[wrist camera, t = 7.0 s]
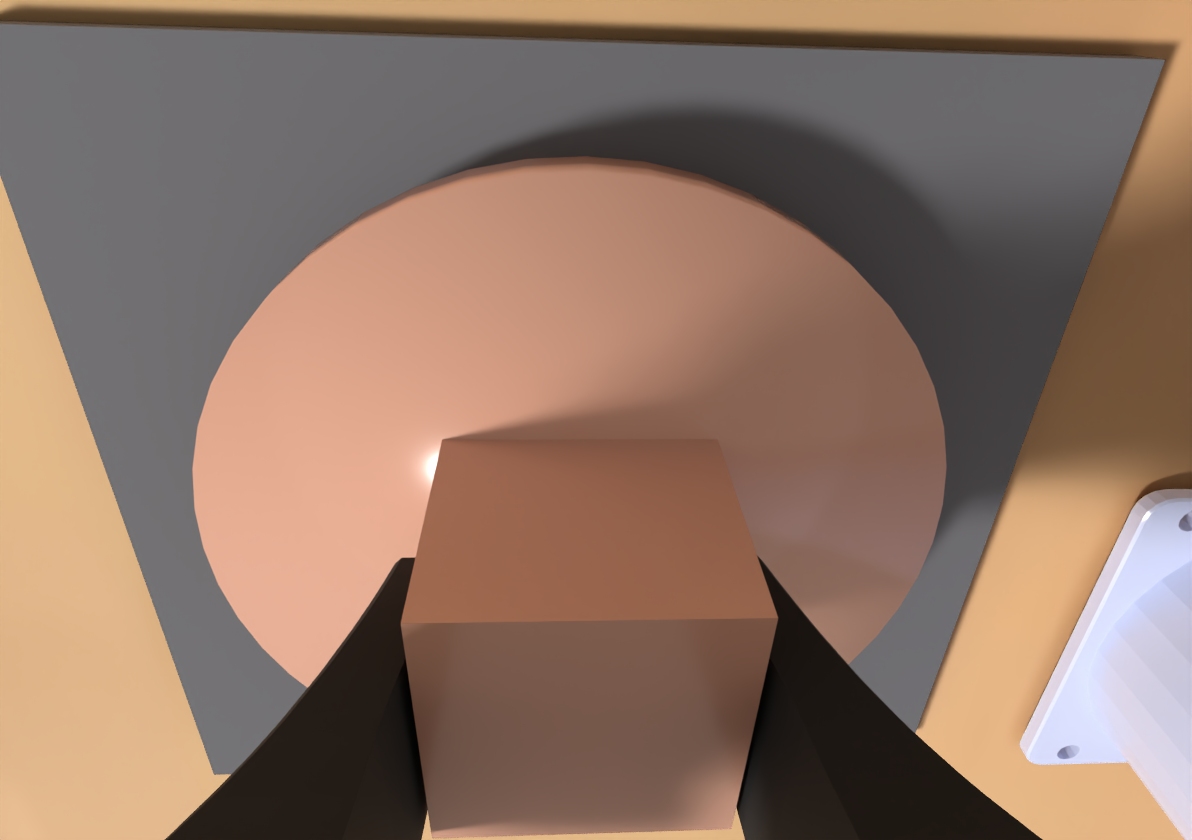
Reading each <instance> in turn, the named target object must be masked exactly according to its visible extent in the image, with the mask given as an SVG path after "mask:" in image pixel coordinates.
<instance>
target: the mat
mask: <svg viewBox="0 0 1192 840" xmlns="http://www.w3.org/2000/svg"><path fill="white" fill-rule="evenodd" d="M1164 62H1165V60H1164V59H1157V58H1149V57H1142V56H1127V55H1094V54H1062V53H1029V52H997V51H964V50H932V49H899V48H867V47H834V46H802V45H769V44H737V43H704V42H672V41H640V40H607V39H575V38H542V37H510V36H477V35H445V34H412V33H380V32H347V31H315V30H282V29H250V28H217V27H185V26H153V25H120V24H88V23H55V22H23V21H0V176H1V178H2V181H3V184H4V187H5V190H6V192H7V195H8V198H9V201H10V204H11V206H12V209H13V212H14V215H15V218H16V220H17V223H18V226H19V229H20V232H21V234H22V237H23V240H24V243H25V246H26V248H27V251H28V254H29V257H30V260H31V263H32V265H33V268H34V271H35V274H36V277H37V279H38V282H39V285H40V288H41V291H42V293H43V296H44V299H45V302H46V305H47V307H48V310H49V313H50V316H51V319H52V321H53V324H54V327H55V330H56V333H57V335H58V338H59V341H60V344H61V347H62V349H63V352H64V355H65V358H66V361H67V363H68V366H69V369H70V372H71V375H72V377H73V380H74V383H75V386H76V389H77V391H78V394H79V397H80V400H81V403H82V405H83V408H84V411H85V414H86V417H87V420H88V422H89V425H90V428H91V431H92V434H93V436H94V439H95V442H96V445H97V448H98V450H99V453H100V456H101V459H102V462H103V464H104V467H105V470H106V473H107V476H108V478H109V481H110V484H111V487H112V490H113V492H114V495H115V498H116V501H117V504H118V506H119V509H120V512H121V515H122V518H123V520H124V523H125V526H126V529H127V532H128V534H129V537H130V540H131V543H132V546H133V548H134V551H135V554H136V557H137V560H138V563H139V565H140V568H141V571H142V574H143V577H144V579H145V582H146V585H147V588H148V591H149V593H150V596H151V599H152V602H153V605H154V607H155V610H156V613H157V616H158V619H159V621H160V624H161V627H162V630H163V633H164V635H165V638H166V641H167V644H168V647H169V649H170V652H171V655H172V658H173V661H174V663H175V666H176V669H177V672H178V675H179V677H180V680H181V683H182V686H183V689H184V691H185V694H186V697H187V700H188V703H189V705H190V708H191V711H192V714H193V717H194V720H195V722H196V725H197V728H198V731H199V734H200V736H201V739H202V742H203V745H204V748H205V750H206V753H207V756H208V759H209V762H210V764H211V767H212V770H213V773H214V775H216V774H232V773H233V772H234V771H235V770H236V769H237V768H238V767H239V766H240V765H241V764H242V763H243V762H244V761H245V760H246V759H247V758H248V757H249V756H250V754H251V753H252V752H253V751H254V750H255V749H256V748H257V747H258V746H259V745H260V744H261V742H262V741H263V740H264V739H265V738H266V737H267V736H268V734H269V733H270V732H271V731H272V730H273V729H274V728H275V727H276V725H277V724H278V723H279V722H280V721H281V720H282V718H283V717H284V716H285V715H286V714H287V712H288V711H289V710H290V709H291V707H292V706H293V705H294V704H295V703H296V701H297V700H298V699H299V698H300V697H301V695H302V694H303V693H304V692H305V690H306V689H307V687H306V686H304V685H303V684H302V683H301V682H299V681H298V680H297V679H295V678H294V677H293V676H291V675H290V674H289V673H288V672H287V671H286V670H285V669H284V668H283V667H282V666H281V665H279V664H278V663H277V662H276V661H275V660H274V659H273V658H272V657H271V656H270V655H269V654H268V653H267V652H266V651H265V650H264V649H263V648H262V647H261V646H260V645H259V643H258V642H257V641H256V640H255V638H254V637H253V636H252V635H251V633H250V632H249V631H248V630H247V628H246V627H245V626H244V624H243V623H242V622H241V621H240V619H239V618H238V617H237V615H236V614H235V612H234V610H233V608H232V607H231V605H230V603H229V602H228V600H227V598H226V597H225V595H224V593H223V592H222V590H221V588H220V587H219V585H218V583H217V580H216V578H215V575H214V573H213V570H212V568H211V566H210V563H209V561H208V558H207V556H206V553H205V551H204V548H203V544H202V540H201V535H200V531H199V527H198V522H197V518H196V513H195V508H194V489H193V470H192V468H193V460H194V452H195V444H196V435H197V427H198V424H199V420H200V417H201V414H202V411H203V407H204V404H205V401H206V398H207V395H208V391H209V388H210V385H211V383H212V381H213V379H214V377H215V375H216V373H217V371H218V369H219V367H220V365H221V363H222V361H223V359H224V357H225V355H226V354H227V352H228V350H229V348H230V346H231V344H232V342H233V341H234V339H235V338H236V337H237V335H238V334H239V333H240V331H241V330H242V329H243V327H244V326H245V325H246V323H247V322H248V321H249V319H250V318H251V317H252V315H253V314H254V313H255V311H256V310H257V309H258V308H259V306H260V305H261V304H262V302H263V301H264V300H265V299H266V297H267V296H268V295H269V294H270V292H271V291H272V290H273V289H274V288H275V286H276V285H277V284H278V283H279V282H280V280H281V279H282V278H283V277H284V276H285V275H286V274H287V273H288V272H289V271H290V270H291V269H293V268H294V267H295V266H296V265H297V264H298V263H299V262H300V261H301V260H302V259H303V258H304V257H305V256H306V255H307V254H308V253H309V252H310V251H311V250H312V249H314V248H315V247H316V246H317V245H318V244H319V243H320V242H322V241H323V240H324V239H326V238H327V237H329V236H330V235H332V234H333V233H334V232H336V231H337V230H339V229H340V228H342V227H343V226H345V225H346V224H347V223H349V222H350V221H352V220H353V219H355V218H356V217H357V216H359V215H360V214H362V213H363V212H365V211H367V210H369V209H371V208H373V207H375V206H377V205H379V204H381V203H383V202H386V201H388V200H390V199H392V198H394V197H396V196H398V195H400V194H402V193H404V192H406V191H408V190H410V189H412V188H414V187H417V186H420V185H423V184H426V183H429V182H432V181H435V180H438V179H441V178H444V177H447V176H450V175H453V174H456V173H459V172H462V171H465V170H469V169H474V168H480V167H485V166H490V165H496V164H501V163H507V162H512V161H518V160H523V159H535V158H557V157H579V156H589V157H601V158H612V159H623V160H634V161H645V162H649V163H653V164H658V165H662V166H666V167H671V168H675V169H679V170H684V171H688V172H692V173H697V174H701V175H703V176H706V177H709V178H711V179H714V180H716V181H719V182H722V183H724V184H727V185H729V186H732V187H735V188H737V189H740V190H742V191H745V192H748V193H750V194H753V195H754V196H756V197H758V198H760V199H762V200H763V201H765V202H767V203H769V204H770V205H772V206H774V207H776V208H778V209H779V210H781V211H783V212H785V213H786V214H788V215H790V216H792V217H794V218H795V219H797V220H799V221H800V222H801V223H803V224H804V225H805V226H806V227H808V228H809V229H810V230H812V231H813V232H814V233H815V234H817V235H818V236H819V237H820V238H822V239H823V240H824V241H826V242H827V243H828V244H829V245H831V246H832V247H833V248H835V249H836V250H837V251H838V252H839V253H840V254H841V255H842V256H843V257H844V258H845V259H846V260H847V261H848V262H849V263H850V264H851V265H852V266H853V267H854V269H855V270H856V271H857V272H858V273H859V274H860V275H861V276H862V277H863V278H864V279H865V280H866V281H867V282H868V283H869V285H870V286H871V287H872V288H873V289H874V290H875V291H876V292H877V293H878V294H879V295H880V296H881V297H882V298H883V300H884V301H885V302H886V303H887V304H888V305H889V306H890V307H891V308H892V310H893V311H894V313H895V314H896V316H897V317H898V319H899V320H900V322H901V323H902V325H903V326H904V328H905V330H906V331H907V333H908V334H909V336H910V337H911V339H912V340H913V342H914V343H915V345H916V346H917V348H918V351H919V353H920V355H921V357H922V360H923V362H924V364H925V367H926V369H927V371H928V373H929V376H930V378H931V380H932V383H933V385H934V388H935V392H936V396H937V400H938V404H939V408H940V412H941V417H942V421H943V425H944V434H945V449H946V465H947V468H946V478H945V488H944V498H943V506H942V510H941V514H940V517H939V521H938V525H937V529H936V533H935V536H934V540H933V543H932V545H931V548H930V550H929V552H928V555H927V557H926V559H925V562H924V564H923V566H922V569H921V571H920V573H919V576H918V577H917V579H916V581H915V582H914V584H913V586H912V587H911V589H910V591H909V592H908V594H907V596H906V597H905V599H904V601H903V602H902V604H901V606H900V607H899V609H898V610H897V611H896V612H895V614H894V615H893V616H892V617H891V619H890V620H889V621H888V623H887V624H886V625H885V626H884V628H883V629H882V630H881V631H880V633H879V634H878V635H877V636H876V638H875V639H874V640H873V641H872V642H871V643H870V644H869V645H868V646H867V647H866V648H865V649H864V650H863V651H862V652H861V653H860V654H859V655H858V656H857V657H856V658H855V659H854V660H853V661H852V662H851V663H850V664H848V665H849V666H850V667H851V668H852V669H853V670H854V672H855V673H856V674H857V675H858V676H859V677H860V678H861V679H862V680H863V681H864V682H865V683H866V684H867V686H868V687H869V688H870V689H871V690H872V691H873V692H874V693H875V694H876V695H877V696H878V697H879V698H880V699H881V700H882V701H883V702H884V703H885V704H886V705H887V706H888V707H889V708H890V709H891V710H892V711H893V712H894V713H895V714H896V715H897V716H898V717H899V718H900V719H901V720H902V721H903V722H904V723H905V724H906V725H907V726H908V727H909V728H910V729H911V730H912V731H913V732H914V733H915V732H916V730H917V727H918V724H919V722H920V719H921V716H922V713H923V711H924V708H925V705H926V703H927V700H928V697H929V695H930V692H931V689H932V687H933V684H934V681H935V678H936V676H937V673H938V670H939V668H940V665H941V662H942V660H943V657H944V654H945V652H946V649H947V646H948V643H949V641H950V638H951V635H952V633H953V630H954V627H955V625H956V622H957V619H958V617H959V614H960V611H961V608H962V606H963V603H964V600H965V598H966V595H967V592H968V590H969V587H970V584H971V582H972V579H973V576H974V573H975V571H976V568H977V565H978V563H979V560H980V557H981V555H982V552H983V549H984V547H985V544H986V541H987V538H988V536H989V533H990V530H991V528H992V525H993V522H994V520H995V517H996V514H997V512H998V509H999V506H1000V503H1001V501H1002V498H1003V495H1004V493H1005V490H1006V487H1007V485H1008V482H1009V479H1010V477H1011V474H1012V471H1013V468H1014V466H1015V463H1016V460H1017V458H1018V455H1019V452H1020V450H1021V447H1022V444H1023V442H1024V439H1025V436H1026V433H1027V431H1028V428H1029V425H1030V423H1031V420H1032V417H1033V415H1034V412H1035V409H1036V407H1037V404H1038V401H1039V398H1040V396H1041V393H1042V390H1043V388H1044V385H1045V382H1046V380H1047V377H1048V374H1049V372H1050V369H1051V366H1052V363H1053V361H1054V358H1055V355H1056V353H1057V350H1058V347H1059V345H1060V342H1061V339H1062V337H1063V334H1064V331H1065V328H1066V326H1067V323H1068V320H1069V318H1070V315H1071V312H1072V310H1073V307H1074V304H1075V302H1076V299H1077V296H1078V293H1079V291H1080V288H1081V285H1082V283H1083V280H1084V277H1085V275H1086V272H1087V269H1088V267H1089V264H1090V261H1091V258H1092V256H1093V253H1094V250H1095V248H1096V245H1097V242H1098V240H1099V237H1100V234H1101V232H1102V229H1103V226H1104V223H1105V221H1106V218H1107V215H1108V213H1109V210H1110V207H1111V205H1112V202H1113V199H1114V197H1115V194H1116V191H1117V188H1118V186H1119V183H1120V180H1121V178H1122V175H1123V172H1124V170H1125V167H1126V164H1127V162H1128V159H1129V156H1130V153H1131V151H1132V148H1133V145H1134V143H1135V140H1136V137H1137V135H1138V132H1139V129H1140V126H1141V124H1142V121H1143V118H1144V116H1145V113H1146V110H1147V108H1148V105H1149V102H1150V100H1151V97H1152V94H1153V91H1154V89H1155V86H1156V83H1157V81H1158V78H1159V75H1160V73H1161V70H1162V67H1163V65H1164Z"/></svg>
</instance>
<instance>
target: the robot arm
mask: <svg viewBox="0 0 1192 840" xmlns="http://www.w3.org/2000/svg"><path fill="white" fill-rule="evenodd" d="M757 557H758V556H757ZM415 558H416V557H415ZM415 558H401V559H400V560H399V561H397V562H396V563H395V564H394V566H393V568H392V569H391V571H390V573H389V574H388V576H387V578H386V579H385V581H384V582H383V584H382V585H381V587H380V589H379V590H378V592H377V593H376V595H375V596H374V598H373V599H372V601H371V602H370V604H369V606H368V607H367V608H366V610H365V611H364V613H363V614H362V616H361V617H360V619H359V620H358V622H357V623H356V624H355V626H354V627H353V629H352V630H351V632H350V633H349V634H348V636H347V637H346V638H345V640H344V641H343V642H342V644H341V645H340V646H339V648H338V649H337V650H336V652H335V653H334V655H333V656H332V657H331V659H330V660H329V661H328V663H327V664H326V665H325V667H324V668H323V669H322V671H321V672H320V673H319V674H318V676H317V677H316V678H315V680H314V681H313V682H312V683H311V684H310V686H309V687H308V688H307V689H306V690H305V692H304V693H303V694H302V695H301V697H300V698H299V699H298V700H297V701H296V703H295V704H294V705H293V706H292V707H291V709H290V710H289V711H288V712H287V714H286V715H285V716H284V717H283V718H282V720H281V721H280V722H279V723H278V724H277V725H276V727H275V728H274V729H273V730H272V731H271V732H270V733H269V734H268V736H267V737H266V738H265V739H264V740H263V741H262V742H261V744H260V745H259V746H258V747H257V748H256V749H255V750H254V751H253V752H252V753H251V754H250V756H249V757H248V758H247V759H246V760H245V761H244V762H243V763H242V764H241V765H240V766H239V767H238V768H237V769H236V770H235V771H234V772H233V773H232V774H231V776H230V777H229V778H228V779H227V780H226V781H225V782H224V783H223V784H222V785H221V786H220V787H219V788H218V789H217V790H216V791H215V792H214V793H213V794H212V795H211V796H210V797H209V798H208V799H207V800H206V801H205V802H204V803H203V804H202V805H200V806H199V807H198V808H197V809H196V810H195V811H194V812H193V813H192V814H191V815H190V816H189V817H188V818H187V819H186V820H185V821H184V822H183V823H182V824H181V825H180V826H179V827H178V828H177V829H176V830H175V831H174V832H173V833H172V834H170V835H169V836H168V837H167V838H166V839H165V840H421V838H422V834H423V829H424V824H425V820H426V815H427V810H428V807H427V800H426V793H425V786H424V780H423V773H422V766H421V759H420V752H419V745H418V739H417V732H416V725H415V718H414V711H413V705H412V698H411V691H410V684H409V677H408V670H407V664H406V657H405V650H404V643H403V636H402V629H401V620H402V615H403V611H404V606H405V602H406V597H407V593H408V589H409V584H410V580H411V575H412V571H413V566H414V562H415ZM758 560H759V563H760V566H761V569H762V572H763V575H764V578H765V581H766V583H767V586H768V589H769V592H770V595H771V598H772V601H773V604H774V607H775V610H776V613H777V616H778V621H777V626H776V630H775V635H774V639H773V644H772V648H771V653H770V657H769V662H768V666H767V671H766V675H765V680H764V684H763V689H762V693H761V698H760V702H759V707H758V711H757V716H756V720H755V725H754V729H753V734H752V738H751V743H750V747H749V752H748V756H747V761H746V765H745V770H744V774H743V779H742V783H741V788H740V792H739V797H738V801H737V806H736V807H737V811H738V815H739V818H740V822H741V826H742V829H743V833H744V837H745V840H1042V839H1041V838H1040V837H1038V836H1037V835H1036V834H1034V833H1033V832H1032V831H1031V830H1029V829H1028V828H1027V827H1025V826H1024V825H1023V824H1022V823H1020V822H1019V821H1018V820H1017V819H1015V818H1014V817H1013V816H1011V815H1010V814H1009V813H1008V812H1006V811H1005V810H1004V809H1002V808H1001V807H1000V806H999V805H997V804H996V803H995V802H993V801H992V800H991V799H990V798H988V797H987V796H986V795H985V794H983V793H982V792H981V791H980V790H979V789H977V788H976V787H975V786H974V785H973V784H971V783H970V782H969V781H968V780H967V779H965V778H964V777H963V776H962V775H961V774H960V773H958V772H957V771H956V770H955V769H954V768H953V767H952V766H950V765H949V764H948V763H947V762H946V761H945V760H944V759H943V758H942V757H940V756H939V755H938V754H937V753H936V752H935V751H934V750H933V749H931V748H930V747H929V746H928V745H927V744H926V743H925V742H924V741H923V740H922V739H921V738H919V737H918V736H917V735H916V734H915V733H914V732H913V731H912V730H911V729H910V728H909V727H908V726H907V725H906V724H905V723H904V722H903V721H902V720H901V719H900V718H899V717H898V716H897V715H896V714H895V713H894V712H893V711H892V710H891V709H890V708H889V707H888V706H887V705H886V704H885V703H884V702H883V701H882V700H881V699H880V698H879V697H878V696H877V695H876V694H875V693H874V692H873V691H872V690H871V689H870V688H869V687H868V686H867V684H866V683H865V682H864V681H863V680H862V679H861V678H860V677H859V676H858V675H857V674H856V673H855V672H854V670H853V669H852V668H851V667H850V666H849V665H848V664H847V663H846V661H845V660H844V659H843V658H842V657H841V656H840V655H839V654H838V652H837V651H836V650H835V649H834V648H833V647H832V646H831V644H830V643H829V642H828V641H827V640H826V639H825V638H824V636H823V635H822V634H821V633H820V632H819V631H818V629H817V628H816V627H815V626H814V625H813V623H812V622H811V621H810V620H809V619H808V617H807V616H806V615H805V614H804V613H803V611H802V610H801V609H800V608H799V606H798V605H797V604H796V603H795V602H794V600H793V599H792V598H791V597H790V595H789V594H788V593H787V591H786V590H785V589H784V588H783V586H782V585H781V584H780V583H779V581H778V580H777V579H776V578H775V576H774V575H773V574H772V572H771V571H770V570H769V569H768V567H767V566H766V565H765V563H764V562H763V561H762V560H761V559H760V558H759V557H758ZM1020 747H1021V749H1022V751H1023V753H1024V754H1025V756H1026V758H1027V759H1028V761H1030V762H1032V763H1034V764H1041V765H1048V764H1085V763H1122V762H1128V763H1129V765H1130V766H1131V767H1132V769H1133V770H1134V771H1135V773H1136V774H1137V775H1138V777H1139V778H1140V780H1141V781H1142V782H1143V784H1144V785H1145V786H1146V788H1147V789H1148V790H1149V792H1150V793H1151V795H1152V796H1153V797H1154V799H1155V800H1156V801H1157V803H1158V804H1159V805H1160V807H1161V808H1162V809H1163V811H1164V812H1165V814H1166V815H1167V816H1168V818H1169V819H1170V820H1171V822H1172V823H1173V824H1174V826H1175V827H1176V829H1177V830H1178V831H1179V833H1180V834H1181V835H1182V837H1183V838H1184V839H1185V840H1192V489H1164V490H1158V491H1154V492H1151V493H1149V494H1147V495H1145V496H1144V497H1142V498H1141V499H1140V500H1139V501H1137V503H1136V504H1135V506H1134V507H1133V508H1132V510H1131V512H1130V515H1129V517H1128V519H1127V521H1126V523H1125V525H1124V527H1123V529H1122V531H1121V533H1120V535H1119V537H1118V539H1117V542H1116V544H1115V546H1114V548H1113V550H1112V552H1111V554H1110V556H1109V558H1108V560H1107V562H1106V564H1105V566H1104V568H1103V571H1102V573H1101V575H1100V577H1099V579H1098V581H1097V583H1096V585H1095V587H1094V589H1093V591H1092V593H1091V595H1090V598H1089V600H1088V602H1087V604H1086V606H1085V608H1084V610H1083V612H1082V614H1081V616H1080V618H1079V620H1078V622H1077V624H1076V627H1075V629H1074V631H1073V633H1072V635H1071V637H1070V639H1069V641H1068V643H1067V645H1066V647H1065V649H1064V651H1063V654H1062V656H1061V658H1060V660H1059V662H1058V664H1057V666H1056V668H1055V670H1054V672H1053V674H1052V676H1051V678H1050V680H1049V683H1048V685H1047V687H1046V689H1045V691H1044V693H1043V695H1042V697H1041V699H1040V701H1039V703H1038V705H1037V707H1036V710H1035V712H1034V714H1033V716H1032V718H1031V720H1030V722H1029V724H1028V726H1027V728H1026V730H1025V732H1024V734H1023V736H1022V739H1021V741H1020Z"/></svg>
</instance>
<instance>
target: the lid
mask: <svg viewBox="0 0 1192 840" xmlns="http://www.w3.org/2000/svg"><path fill="white" fill-rule="evenodd" d="M946 468H947V465H946V449H945V434H944V425H943V421H942V417H941V412H940V408H939V404H938V400H937V396H936V392H935V388H934V385H933V383H932V380H931V378H930V376H929V373H928V371H927V369H926V367H925V364H924V362H923V360H922V357H921V355H920V353H919V351H918V348H917V346H916V345H915V343H914V342H913V340H912V339H911V337H910V336H909V334H908V333H907V331H906V330H905V328H904V326H903V325H902V323H901V322H900V320H899V319H898V317H897V316H896V314H895V313H894V311H893V310H892V308H891V307H890V306H889V305H888V304H887V303H886V302H885V301H884V300H883V298H882V297H881V296H880V295H879V294H878V293H877V292H876V291H875V290H874V289H873V288H872V287H871V286H870V285H869V283H868V282H867V281H866V280H865V279H864V278H863V277H862V276H861V275H860V274H859V273H858V272H857V271H856V270H855V269H854V267H853V266H852V265H851V264H850V263H849V262H848V261H847V260H846V259H845V258H844V257H843V256H842V255H841V254H840V253H839V252H838V251H837V250H836V249H835V248H833V247H832V246H831V245H829V244H828V243H827V242H826V241H824V240H823V239H822V238H820V237H819V236H818V235H817V234H815V233H814V232H813V231H812V230H810V229H809V228H808V227H806V226H805V225H804V224H803V223H801V222H800V221H799V220H797V219H795V218H794V217H792V216H790V215H788V214H786V213H785V212H783V211H781V210H779V209H778V208H776V207H774V206H772V205H770V204H769V203H767V202H765V201H763V200H762V199H760V198H758V197H756V196H754V195H753V194H750V193H748V192H745V191H742V190H740V189H737V188H735V187H732V186H729V185H727V184H724V183H722V182H719V181H716V180H714V179H711V178H709V177H706V176H703V175H701V174H697V173H692V172H688V171H684V170H679V169H675V168H671V167H666V166H662V165H658V164H653V163H649V162H645V161H634V160H623V159H612V158H601V157H589V156H579V157H557V158H535V159H523V160H518V161H512V162H507V163H501V164H496V165H490V166H485V167H480V168H474V169H469V170H465V171H462V172H459V173H456V174H453V175H450V176H447V177H444V178H441V179H438V180H435V181H432V182H429V183H426V184H423V185H420V186H417V187H414V188H412V189H410V190H408V191H406V192H404V193H402V194H400V195H398V196H396V197H394V198H392V199H390V200H388V201H386V202H383V203H381V204H379V205H377V206H375V207H373V208H371V209H369V210H367V211H365V212H363V213H362V214H360V215H359V216H357V217H356V218H355V219H353V220H352V221H350V222H349V223H347V224H346V225H345V226H343V227H342V228H340V229H339V230H337V231H336V232H334V233H333V234H332V235H330V236H329V237H327V238H326V239H324V240H323V241H322V242H320V243H319V244H318V245H317V246H316V247H315V248H314V249H312V250H311V251H310V252H309V253H308V254H307V255H306V256H305V257H304V258H303V259H302V260H301V261H300V262H299V263H298V264H297V265H296V266H295V267H294V268H293V269H291V270H290V271H289V272H288V273H287V274H286V275H285V276H284V277H283V278H282V279H281V280H280V282H279V283H278V284H277V285H276V286H275V288H274V289H273V290H272V291H271V292H270V294H269V295H268V296H267V297H266V299H265V300H264V301H263V302H262V304H261V305H260V306H259V308H258V309H257V310H256V311H255V313H254V314H253V315H252V317H251V318H250V319H249V321H248V322H247V323H246V325H245V326H244V327H243V329H242V330H241V331H240V333H239V334H238V335H237V337H236V338H235V339H234V341H233V342H232V344H231V346H230V348H229V350H228V352H227V354H226V355H225V357H224V359H223V361H222V363H221V365H220V367H219V369H218V371H217V373H216V375H215V377H214V379H213V381H212V383H211V385H210V388H209V391H208V395H207V398H206V401H205V404H204V407H203V411H202V414H201V417H200V420H199V424H198V427H197V435H196V444H195V452H194V460H193V468H192V470H193V489H194V508H195V513H196V518H197V522H198V527H199V531H200V535H201V540H202V544H203V548H204V551H205V553H206V556H207V558H208V561H209V563H210V566H211V568H212V570H213V573H214V575H215V578H216V580H217V583H218V585H219V587H220V588H221V590H222V592H223V593H224V595H225V597H226V598H227V600H228V602H229V603H230V605H231V607H232V608H233V610H234V612H235V614H236V615H237V617H238V618H239V619H240V621H241V622H242V623H243V624H244V626H245V627H246V628H247V630H248V631H249V632H250V633H251V635H252V636H253V637H254V638H255V640H256V641H257V642H258V643H259V645H260V646H261V647H262V648H263V649H264V650H265V651H266V652H267V653H268V654H269V655H270V656H271V657H272V658H273V659H274V660H275V661H276V662H277V663H278V664H279V665H281V666H282V667H283V668H284V669H285V670H286V671H287V672H288V673H289V674H290V675H291V676H293V677H294V678H295V679H297V680H298V681H299V682H301V683H302V684H303V685H304V686H306V687H307V688H308V687H309V686H310V684H311V683H312V682H313V681H314V680H315V678H316V677H317V676H318V674H319V673H320V672H321V671H322V669H323V668H324V667H325V665H326V664H327V663H328V661H329V660H330V659H331V657H332V656H333V655H334V653H335V652H336V650H337V649H338V648H339V646H340V645H341V644H342V642H343V641H344V640H345V638H346V637H347V636H348V634H349V633H350V632H351V630H352V629H353V627H354V626H355V624H356V623H357V622H358V620H359V619H360V617H361V616H362V614H363V613H364V611H365V610H366V608H367V607H368V606H369V604H370V602H371V601H372V599H373V598H374V596H375V595H376V593H377V592H378V590H379V589H380V587H381V585H382V584H383V582H384V581H385V579H386V578H387V576H388V574H389V573H390V571H391V569H392V568H393V566H394V564H395V563H396V562H397V561H399V560H400V559H401V558H415V557H416V558H415V562H414V566H413V571H412V575H411V580H410V584H409V589H408V593H407V597H406V602H405V606H404V611H403V615H402V620H401V629H402V636H403V643H404V650H405V657H406V664H407V670H408V677H409V684H410V691H411V698H412V705H413V711H414V718H415V725H416V732H417V739H418V745H419V752H420V759H421V766H422V773H423V780H424V786H425V793H426V800H427V807H428V814H429V821H430V827H431V834H432V838H459V837H491V836H523V835H555V834H588V833H620V832H652V831H684V830H716V829H731V828H732V824H733V819H734V815H735V810H736V806H737V801H738V797H739V792H740V788H741V783H742V779H743V774H744V770H745V765H746V761H747V756H748V752H749V747H750V743H751V738H752V734H753V729H754V725H755V720H756V716H757V711H758V707H759V702H760V698H761V693H762V689H763V684H764V680H765V675H766V671H767V666H768V662H769V657H770V653H771V648H772V644H773V639H774V635H775V630H776V626H777V621H778V616H777V613H776V610H775V607H774V604H773V601H772V598H771V595H770V592H769V589H768V586H767V583H766V581H765V578H764V575H763V572H762V569H761V566H760V563H759V560H758V557H759V558H760V559H761V560H762V561H763V562H764V563H765V565H766V566H767V567H768V569H769V570H770V571H771V572H772V574H773V575H774V576H775V578H776V579H777V580H778V581H779V583H780V584H781V585H782V586H783V588H784V589H785V590H786V591H787V593H788V594H789V595H790V597H791V598H792V599H793V600H794V602H795V603H796V604H797V605H798V606H799V608H800V609H801V610H802V611H803V613H804V614H805V615H806V616H807V617H808V619H809V620H810V621H811V622H812V623H813V625H814V626H815V627H816V628H817V629H818V631H819V632H820V633H821V634H822V635H823V636H824V638H825V639H826V640H827V641H828V642H829V643H830V644H831V646H832V647H833V648H834V649H835V650H836V651H837V652H838V654H839V655H840V656H841V657H842V658H843V659H844V660H845V661H846V663H847V664H850V663H851V662H852V661H853V660H854V659H855V658H856V657H857V656H858V655H859V654H860V653H861V652H862V651H863V650H864V649H865V648H866V647H867V646H868V645H869V644H870V643H871V642H872V641H873V640H874V639H875V638H876V636H877V635H878V634H879V633H880V631H881V630H882V629H883V628H884V626H885V625H886V624H887V623H888V621H889V620H890V619H891V617H892V616H893V615H894V614H895V612H896V611H897V610H898V609H899V607H900V606H901V604H902V602H903V601H904V599H905V597H906V596H907V594H908V592H909V591H910V589H911V587H912V586H913V584H914V582H915V581H916V579H917V577H918V576H919V573H920V571H921V569H922V566H923V564H924V562H925V559H926V557H927V555H928V552H929V550H930V548H931V545H932V543H933V540H934V536H935V533H936V529H937V525H938V521H939V517H940V514H941V510H942V506H943V498H944V488H945V478H946ZM757 556H758V557H757Z"/></svg>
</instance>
